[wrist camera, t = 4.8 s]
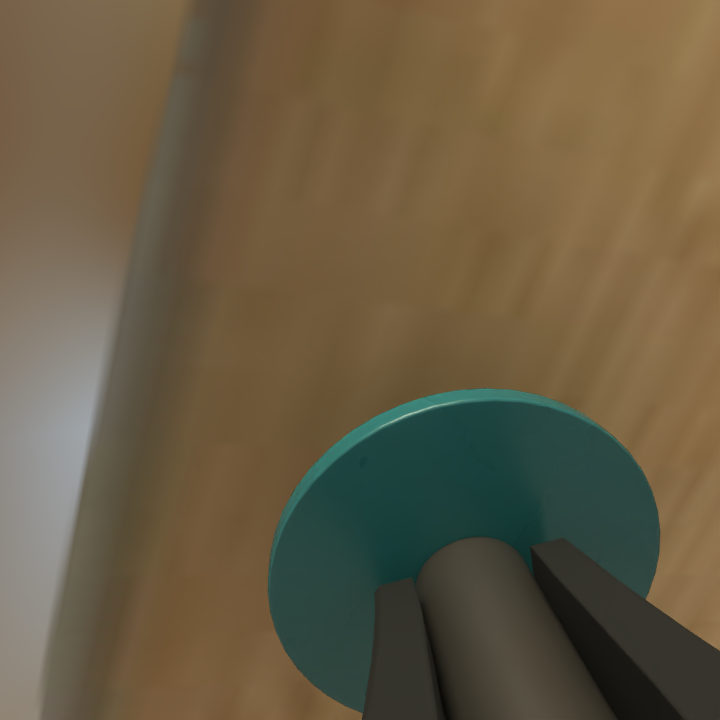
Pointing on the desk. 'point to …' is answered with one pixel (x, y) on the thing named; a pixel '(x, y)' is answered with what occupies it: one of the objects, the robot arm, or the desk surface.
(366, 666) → the tin lid
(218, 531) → the desk surface
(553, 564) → the robot arm
